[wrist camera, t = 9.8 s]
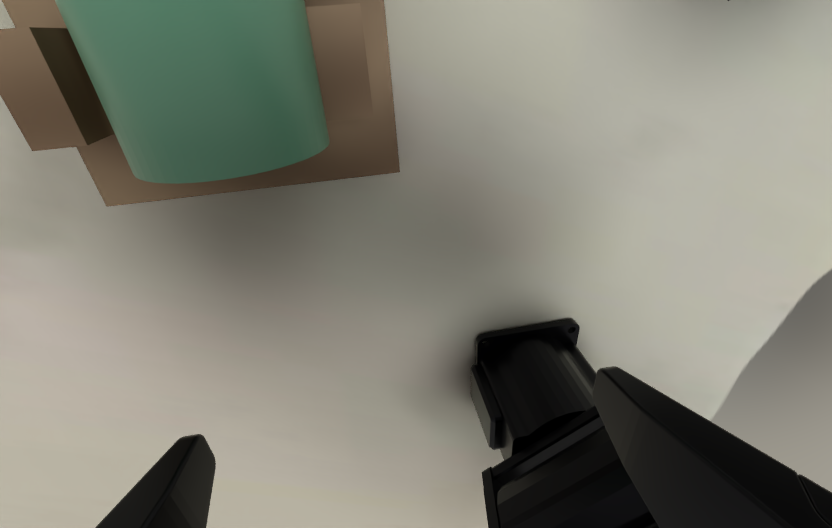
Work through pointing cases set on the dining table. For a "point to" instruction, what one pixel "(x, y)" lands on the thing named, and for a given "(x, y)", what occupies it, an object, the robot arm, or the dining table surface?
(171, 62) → the small bottle
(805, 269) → the dining table surface
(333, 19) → the bottle rest
